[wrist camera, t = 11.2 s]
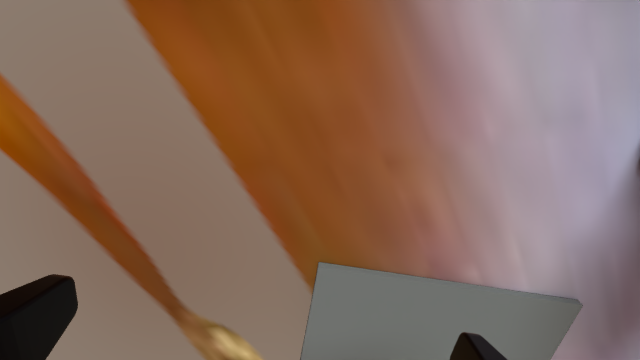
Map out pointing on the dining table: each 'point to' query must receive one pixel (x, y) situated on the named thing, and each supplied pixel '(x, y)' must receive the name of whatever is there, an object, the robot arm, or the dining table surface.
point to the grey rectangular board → (426, 317)
